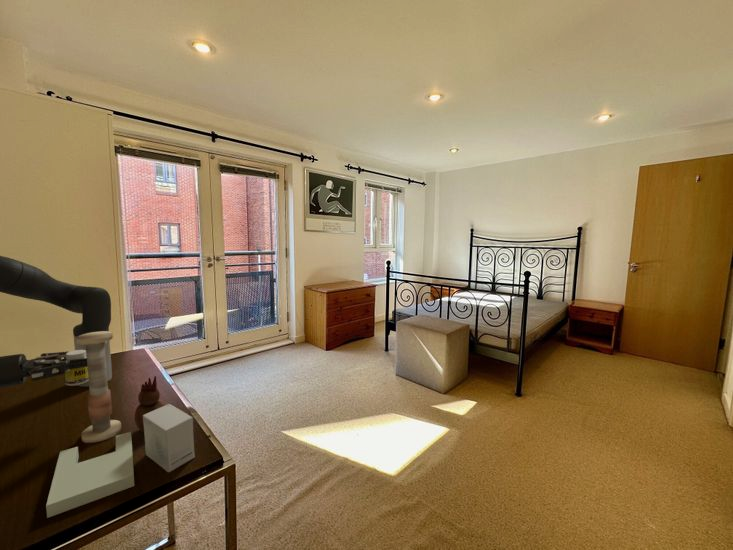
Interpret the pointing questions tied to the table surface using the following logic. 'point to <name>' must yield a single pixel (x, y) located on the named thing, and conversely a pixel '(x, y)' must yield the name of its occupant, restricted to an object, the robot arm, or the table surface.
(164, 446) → the skincare box
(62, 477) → the notched board
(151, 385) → the wooden figurine
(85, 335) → the bobbin post
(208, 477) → the table surface
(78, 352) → the supplement bottle
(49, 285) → the robot arm
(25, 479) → the table surface
